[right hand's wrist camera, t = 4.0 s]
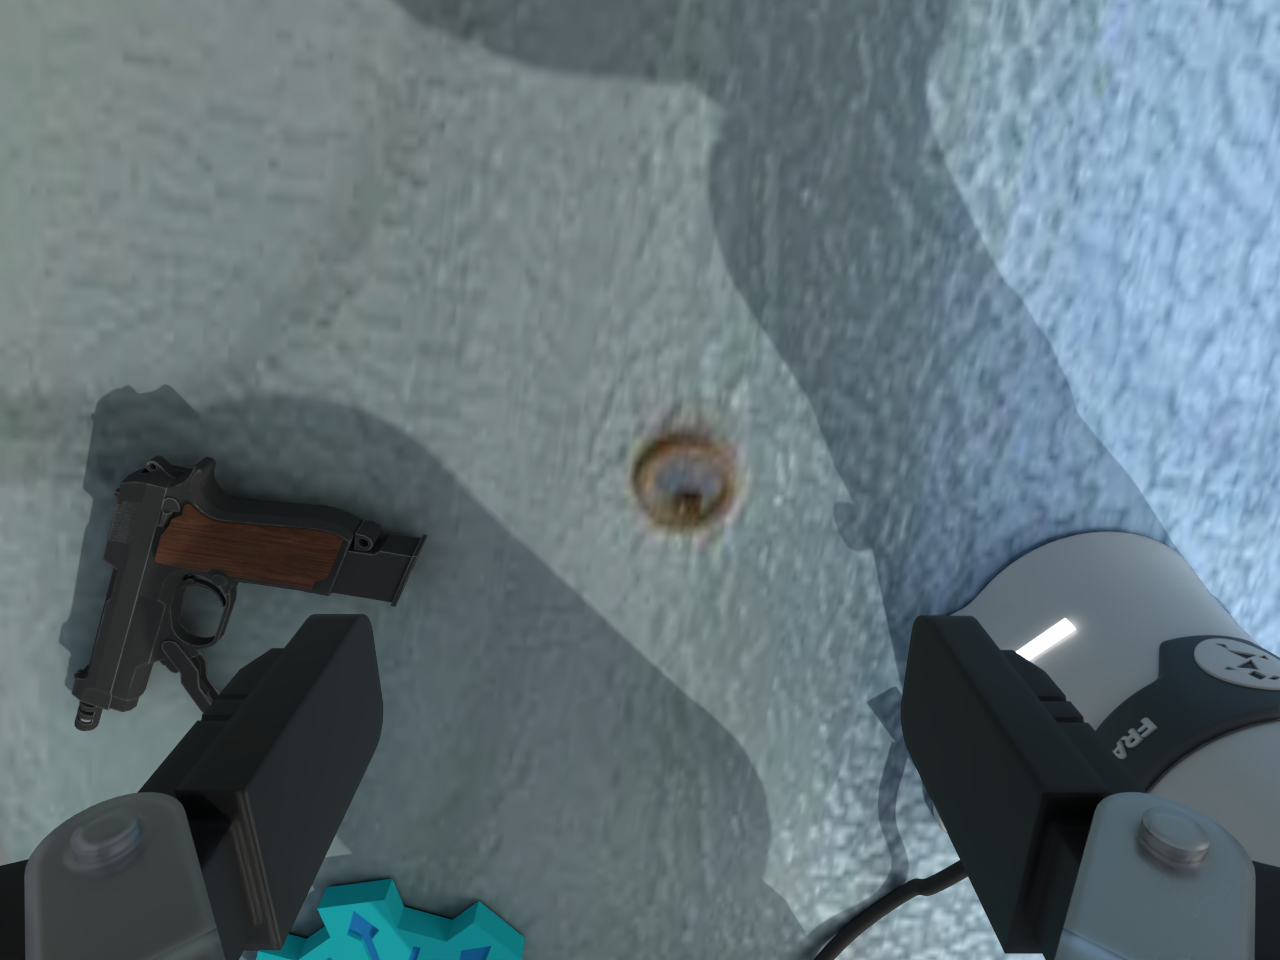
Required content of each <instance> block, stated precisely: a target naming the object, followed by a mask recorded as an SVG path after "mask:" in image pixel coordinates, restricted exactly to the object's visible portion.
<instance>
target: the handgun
mask: <svg viewBox="0 0 1280 960" xmlns="http://www.w3.org/2000/svg"><path fill="white" fill-rule="evenodd" d="M215 463H216V462H215V460H214V459H212V458H210V457H206V458H204V459H203V460H202V461H201V462H199V463H198V464H197V465H196V466H195V467H193V468H192V469H186V468H183V467H179V466H175V465H171V464H170V463H169V462H168V461H167V460H166V459H165V458H164V457H162V456H156V457H154V458H153V459H152V460H150V461H149V462H148V463H147V465H146V468H144V469H140V470H138V471H136V472H134V473H132V474H130V475H128V476H127V477H126V478H125V479H124V480H123V482H122V483H121V486H120V488H118V489H117V490H115V491H114V496H115V497H116V499H117V502H116V506H115V511H114V515H113V519H112V523H111V527H110V531H109V535H108V539H107V543H106V547H105V552H104V556H103V560H104V561H106V562H107V563H108V564H110V565H111V566H112V567H114V569H113V573H112V577H111V581H110V585H109V589H108V593H107V597H106V600H105V604H104V608H103V612H102V616H101V620H100V624H99V628H98V632H97V636H96V640H95V644H94V648H93V652H92V656H91V660H90V664H89V665H88V666H87V667H86V668H85V669H84V670H82V669H80V670H78V671H77V672H76V673H75V674H74V677H75V682H74V686H73V690H72V694H73V695H74V696H75V697H76V698H77V699H79V700H80V704H79V707H78V711H77V715H76V719H75V727H76V728H77V729H79V730H81V731H90V730H93V729H94V728H96V727H97V726H98V724H99V720H100V716H101V713H102V709H106V710H109V709H110V708H111V709H114V710H117V711H121V712H125V711H129V710H131V709H133V708H134V707H136V706H137V702H138V699H139V696H141V695H142V694H143V693H144V691H145V689H146V686H147V682H148V679H149V676H150V672H151V669H152V666H153V663H154V662H156V661H160V662H161V664H162V665H165V666H166V667H167V668H168V669H169V671H171V672H173V673H178V672H180V674H181V683H182V685H183V686H184V688H185V689H186V691H187V692H188V694H189V695H190V696H191V698H192V699H193V700H194V702H195V703H196V704H197V706H198V707H199V708H200V710H201V711H202V712H203V713H204V712H205V711H206V710H207V709H208V707H209V706H210V705H211V704H212V703H213V701H214V700H215V699H219V694H220V693H219V692H218V690H217V689H216V688H215V686H214V685H213V683H212V682H211V681H210V679H209V678H208V673H207V660H206V659H205V657H204V656H203V654H202V653H201V652H200V650H201V649H205V648H208V647H211V646H213V645H215V644H216V643H217V642H218V641H219V640H220V638H221V637H222V636H223V634H224V632H225V629H226V626H227V623H228V620H229V617H230V614H231V611H232V608H233V605H234V602H235V600H236V594H237V588H236V586H237V584H238V582H244V583H253V584H260V585H267V586H274V587H280V588H287V589H293V590H300V591H305V592H311V593H316V594H321V595H326V596H329V595H330V594H331V593H332V592H333V593H339V594H345V595H351V596H357V597H364V598H370V599H376V600H381V601H387V602H392V604H391V606H396V604H397V602H398V600H399V598H400V596H401V593H402V591H403V589H404V587H405V585H406V582H407V580H408V578H409V576H410V574H411V571H412V569H413V567H414V565H415V562H416V560H417V558H418V556H419V553H420V551H421V549H422V547H423V544H424V542H425V540H426V538H427V536H428V535H425V534H423V536H422V538H418V537H413V536H407V535H401V534H395V533H389V534H387V535H386V536H380V533H381V531H382V530H381V527H380V525H379V524H378V523H376V522H375V521H372V520H367V519H365V520H364V521H362V520H361V519H359V518H358V517H356V516H354V515H352V514H350V513H348V512H345V511H343V510H340V509H337V508H333V507H328V506H321V505H307V504H294V503H282V502H268V501H256V500H245V499H238V498H234V497H232V496H230V495H228V494H226V493H225V492H224V491H223V490H222V489H221V488H220V487H219V485H218V484H217V482H216V480H215V478H214V468H215ZM189 573H194V574H199V575H202V576H205V577H207V578H210V579H211V580H212V582H213V583H214V584H215V585H217V586H221V587H222V589H223V591H224V594H226V600H225V597H224V595H223V593H222V592H221V591H220V590H219V589H218V588H217V587H216V586H215V585H213V584H211V583H209V582H207V581H205V580H202V579H198V578H197V577H195V576H193V575H192V576H190V577H188V576H189ZM190 585H199V586H203V587H205V588H208V589H210V590H211V591H213V592H214V593H215V594H216V595H217V596H218V597H219V599H220V601H221V604H222V607H224V606H225V608H224V611H223V614H222V617H221V620H220V623H219V626H218V629H217V632H216V635H215V636H212V637H198V636H196V635H193V634H191V633H190V632H188V631H187V630H186V629H185V628H184V627H183V626H182V624H181V623H180V613H181V605H182V597H183V592H184V589H185V587H186V586H190ZM80 719H83V720H91V722H83V721H81V720H80Z"/></svg>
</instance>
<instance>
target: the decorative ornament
mask: <svg viewBox="0 0 1280 960" xmlns="http://www.w3.org/2000/svg"><path fill="white" fill-rule="evenodd" d="M317 909H318V911H319V913H320V916H321V918H322V920H323V922H324V924H325V926H324V927H323V928H321V929H320V930H318V931H317V932H316V933H314V934H313V935H311V936H310V937H309V938H307V939H306V938H302V937H298V936H294V935H290V934H288V936H287V938H286V940H285V943H284V945H283V947H282V949H281V950H259V951H258V954H257V958H256V960H522V955H523V949H524V942H525V938H524V937H523V936H522V935H521V934H519V933H518V932H517V931H516V930H514V929H513V928H512V927H511V926H510V925H508V924H507V923H506V922H505V921H503V920H502V919H501V918H500V917H498V916H497V915H496V914H495V913H493V912H492V911H491V910H490V909H488V908H487V907H486V906H485V905H484V904H482V903H481V902H480V901H478V902H477V903H475V904H474V905H472V906H471V907H470V908H468V909H467V910H465V911H464V912H463V913H461V914H460V915H458V916H457V917H456V918H454V919H453V920H451V919H447V918H444V917H440V916H436V915H433V914H429V913H425V912H422V911H418V910H414V909H411V908H407V907H404V905H403V902H402V900H401V898H400V895H399V893H398V891H397V888H396V886H395V883H394V881H393V879H386V880H378V881H371V882H363V883H356V884H348V885H341V886H333V887H327V888H326V891H325V893H324V895H323V897H322V899H321V902H320V904H319V906H318V908H317Z"/></svg>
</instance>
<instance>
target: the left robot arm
mask: <svg viewBox="0 0 1280 960" xmlns="http://www.w3.org/2000/svg"><path fill="white" fill-rule="evenodd" d="M949 616H973V617H974V618H976V619H977V620H978V622H979V623H980V624H981V626H982V627H983V628H984V629H985V631H986V632H987V633H988V634H989V636H990V637H991V638H992V640H993V641H994V642H995V643H996V645H997V646H998V647H999V649H1000V650H1014V651H1015V652H1017V653H1018V654H1020V655H1021V656H1023V657H1024V658H1026V659H1027V660H1029V661H1030V662H1032V663H1033V664H1035V665H1036V666H1038V667H1039V668H1041V669H1042V670H1044V671H1045V672H1046V673H1047V674H1048V675H1049V677H1050V678H1051V679H1052V680H1053V681H1054V682H1055V684H1056V685H1057V686H1058V687H1059V688H1060V690H1061V691H1062V692H1063V693H1064V694H1065V696H1066V701H1070V702H1071V703H1072V704H1073V705H1074V706H1075V707H1076V709H1077V710H1078V711H1079V712H1080V713H1081V715H1082V716H1083V717H1084V722H1085V723H1089V724H1090V725H1091V727H1092V728H1093V729H1094V730H1095V731H1096V732H1097V734H1098V735H1099V736H1100V737H1101V738H1102V740H1103V741H1104V742H1105V743H1106V744H1107V746H1108V747H1109V748H1110V749H1111V750H1112V752H1113V753H1114V754H1115V755H1116V756H1117V757H1118V759H1119V760H1120V761H1121V762H1122V763H1123V765H1124V766H1125V767H1126V768H1127V769H1128V771H1129V772H1130V773H1131V774H1132V775H1133V777H1134V778H1135V779H1136V780H1137V781H1138V782H1139V784H1140V785H1141V786H1142V787H1143V788H1144V790H1145V791H1146V792H1147V793H1148V794H1153V795H1157V796H1161V797H1165V798H1168V799H1171V800H1174V801H1177V802H1179V803H1181V804H1184V805H1186V806H1189V807H1191V808H1193V809H1195V810H1197V811H1198V812H1200V813H1202V814H1204V815H1206V816H1207V817H1209V818H1210V819H1212V820H1214V821H1215V822H1216V823H1218V824H1219V825H1220V826H1222V827H1223V828H1224V829H1226V830H1227V831H1228V832H1229V833H1230V834H1231V835H1232V836H1233V837H1235V838H1236V839H1237V840H1238V842H1239V843H1240V844H1241V845H1242V846H1243V847H1244V849H1245V850H1246V852H1247V853H1248V855H1249V856H1250V858H1251V860H1253V861H1256V862H1260V863H1264V864H1268V865H1272V866H1277V867H1280V658H1279V657H1277V656H1276V655H1274V654H1272V653H1271V652H1269V651H1267V650H1265V649H1263V648H1262V647H1261V646H1260V645H1259V644H1258V643H1257V642H1256V641H1255V640H1254V639H1253V638H1252V637H1251V636H1250V635H1249V634H1248V633H1247V632H1246V631H1245V630H1244V629H1242V627H1241V626H1240V625H1239V624H1238V623H1237V622H1236V621H1235V620H1234V619H1233V618H1232V617H1231V616H1230V615H1229V614H1228V613H1227V612H1226V610H1225V609H1224V608H1223V607H1222V606H1221V605H1220V604H1219V603H1218V602H1217V600H1216V599H1215V598H1214V597H1213V596H1212V594H1211V593H1210V592H1209V590H1208V589H1207V588H1206V587H1205V585H1204V584H1203V583H1202V581H1201V580H1200V578H1199V577H1198V575H1197V574H1196V573H1195V571H1194V570H1193V568H1192V567H1191V566H1190V565H1189V563H1188V562H1187V561H1186V560H1185V559H1184V558H1183V557H1182V556H1181V555H1179V554H1178V553H1177V552H1175V551H1174V550H1173V549H1171V548H1170V547H1168V546H1166V545H1164V544H1162V543H1160V542H1158V541H1156V540H1154V539H1151V538H1148V537H1145V536H1141V535H1137V534H1132V533H1126V532H1115V531H1102V532H1090V533H1083V534H1077V535H1073V536H1069V537H1065V538H1062V539H1058V540H1056V541H1053V542H1050V543H1048V544H1045V545H1043V546H1041V547H1039V548H1037V549H1035V550H1033V551H1031V552H1029V553H1027V554H1025V555H1024V556H1022V557H1020V558H1019V559H1017V560H1016V561H1014V562H1013V563H1011V564H1010V565H1009V566H1008V567H1006V568H1005V569H1004V570H1003V571H1001V572H1000V573H999V574H998V575H997V576H996V577H995V578H994V579H993V580H992V581H991V582H990V583H989V584H988V585H987V586H986V587H985V588H984V589H983V590H982V591H981V592H980V593H979V594H978V596H977V597H976V598H975V599H974V600H973V601H971V602H970V603H969V604H968V605H967V606H966V607H964V608H963V609H961V610H959V611H957V612H955V613H953V614H951V615H949ZM932 804H933V802H932ZM933 813H934V817H935V820H936V821H937V823H938V824H939V826H940V828H941V829H942V830H943V831H944V832H946V833H947V831H946V829H945V827H944V825H943V822H942V820H941V818H940V816H939V814H938V812H937V810H936V808H935V806H934V804H933ZM947 834H948V833H947ZM966 877H968V875H967V873H966V871H965V869H964V866H963V864H962V862H961V860H959V861H958V862H956V863H954V864H952V865H951V866H949V867H947V868H946V869H944V870H942V871H940V872H938V873H936V874H935V875H932V876H930V877H928V878H925V879H912V880H910V881H908V882H907V883H905V884H903V885H902V886H900V887H899V888H897V889H895V890H894V891H892V892H891V893H889V894H888V895H886V896H885V897H883V898H882V899H880V900H879V901H877V902H876V903H875V904H873V905H872V906H870V907H869V908H868V909H866V910H865V911H864V912H862V913H861V914H860V915H858V916H857V917H856V918H855V919H854V920H852V921H851V922H850V923H849V924H848V925H846V926H845V927H844V928H843V929H842V930H841V931H840V932H839V933H838V934H837V935H836V936H835V937H834V938H833V939H832V940H831V941H830V942H829V943H828V944H827V945H826V946H825V947H824V948H823V949H822V950H821V952H820V953H819V954H818V955H817V956H816V958H815V959H814V960H834V959H835V958H836V957H837V956H838V955H839V954H840V953H841V952H842V951H843V950H844V949H845V948H846V947H847V946H848V945H849V944H850V943H851V942H852V941H853V940H854V939H855V938H857V937H858V936H859V935H860V934H861V933H862V932H864V931H865V930H866V929H867V928H869V927H870V926H871V925H873V924H874V923H875V922H877V921H878V920H879V919H881V918H882V917H883V916H885V915H886V914H888V913H889V912H891V911H892V910H894V909H895V908H897V907H898V906H900V905H902V904H903V903H905V902H906V901H908V900H910V899H911V898H913V897H915V896H917V895H924V896H930V895H933V894H935V893H938V892H940V891H942V890H944V889H946V888H948V887H950V886H952V885H954V884H955V883H957V882H959V881H961V880H962V879H964V878H966Z"/></svg>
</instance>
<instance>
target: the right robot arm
mask: <svg viewBox="0 0 1280 960" xmlns="http://www.w3.org/2000/svg"><path fill="white" fill-rule="evenodd" d="M382 722H383V701H382V694H381V687H380V680H379V673H378V666H377V659H376V652H375V645H374V638H373V631H372V626H371V622H370V620H369V618H368V617H367V616H366V615H364V614H314V615H311V616H310V617H309V618H308V619H307V620H306V621H305V622H304V624H303V625H302V626H301V627H300V629H299V630H298V631H297V633H296V634H295V635H294V637H293V638H292V639H291V640H290V642H289V643H288V644H287V646H286V647H285V648H272V649H270V650H269V651H267V652H266V653H264V654H263V655H261V656H260V657H258V658H257V659H255V660H254V661H252V662H251V663H249V664H248V665H246V666H245V667H243V668H242V669H240V670H239V671H238V673H237V674H236V675H235V676H234V677H233V679H232V680H231V681H230V682H229V683H228V685H227V686H226V687H225V688H224V689H223V691H222V692H221V693H220V694H219V699H215V700H214V701H213V703H212V704H211V705H210V706H209V707H208V709H207V710H206V711H205V712H204V713H203V715H202V720H201V721H197V722H196V723H195V724H194V725H193V727H192V728H191V729H190V730H189V731H188V733H187V734H186V735H185V736H184V737H183V739H182V740H181V741H180V742H179V743H178V745H177V746H176V747H175V748H174V749H173V751H172V752H171V753H170V754H169V755H168V757H167V758H166V759H165V760H164V761H163V763H162V764H161V765H160V766H159V767H158V769H157V770H156V771H155V772H154V773H153V775H152V776H151V777H150V778H149V779H148V781H147V782H146V783H145V784H144V785H143V787H142V788H141V789H140V790H139V791H138V793H133V794H127V795H123V796H119V797H115V798H112V799H109V800H106V801H103V802H101V803H98V804H96V805H94V806H91V807H89V808H87V809H85V810H83V811H82V812H80V813H78V814H76V815H74V816H73V817H71V818H70V819H68V820H66V821H65V822H64V823H62V824H61V825H60V826H58V827H57V828H56V829H54V830H53V831H52V832H51V833H50V834H49V835H48V836H47V837H45V838H44V839H43V840H42V842H41V843H40V844H39V845H38V846H37V847H36V849H35V850H34V852H33V853H32V855H31V856H30V858H29V859H28V860H24V861H19V862H15V863H11V864H7V865H2V866H0V960H239V959H240V957H241V955H242V953H243V951H244V950H281V949H282V947H283V945H284V943H285V940H286V938H287V936H288V934H289V932H290V930H291V928H292V926H293V924H294V921H295V919H296V917H297V915H298V913H299V911H300V909H301V907H302V904H303V902H304V900H305V898H306V896H307V894H308V892H309V890H310V888H311V885H312V883H313V881H314V879H315V877H316V875H317V873H318V871H319V868H320V866H321V864H322V862H323V860H324V858H325V856H326V854H327V851H328V849H329V847H330V845H331V843H332V841H333V839H334V837H335V835H336V832H337V830H338V828H339V826H340V824H341V822H342V820H343V818H344V815H345V813H346V811H347V809H348V807H349V805H350V803H351V801H352V798H353V796H354V794H355V792H356V790H357V788H358V786H359V784H360V782H361V779H362V777H363V775H364V773H365V771H366V769H367V767H368V765H369V762H370V760H371V758H372V756H373V754H374V752H375V750H376V747H377V745H378V742H379V739H380V735H381V729H382ZM901 724H902V731H903V736H904V740H905V744H906V747H907V749H908V751H909V753H910V756H911V758H912V760H913V762H914V764H915V766H916V768H917V770H918V772H919V774H920V776H921V779H922V781H923V783H924V785H925V787H926V789H927V791H928V793H929V795H930V797H931V799H932V802H933V804H934V806H935V808H936V810H937V812H938V814H939V816H940V818H941V820H942V822H943V825H944V827H945V829H946V831H947V833H948V835H949V837H950V839H951V841H952V843H953V846H954V848H955V850H956V852H957V854H958V856H959V858H960V860H961V862H962V864H963V866H964V869H965V871H966V873H967V875H968V877H969V879H970V881H971V883H972V885H973V887H974V889H975V892H976V894H977V896H978V898H979V900H980V902H981V904H982V906H983V908H984V910H985V913H986V915H987V917H988V919H989V921H990V923H991V925H992V927H993V929H994V931H995V933H996V936H997V938H998V940H999V942H1000V944H1001V946H1002V948H1003V950H1004V952H1005V953H1043V955H1044V957H1045V959H1046V960H1280V867H1277V866H1272V865H1268V864H1264V863H1260V862H1256V861H1253V860H1251V858H1250V856H1249V855H1248V853H1247V852H1246V850H1245V849H1244V847H1243V846H1242V845H1241V844H1240V843H1239V842H1238V840H1237V839H1236V838H1235V837H1233V836H1232V835H1231V834H1230V833H1229V832H1228V831H1227V830H1226V829H1224V828H1223V827H1222V826H1220V825H1219V824H1218V823H1216V822H1215V821H1214V820H1212V819H1210V818H1209V817H1207V816H1206V815H1204V814H1202V813H1200V812H1198V811H1197V810H1195V809H1193V808H1191V807H1189V806H1186V805H1184V804H1181V803H1179V802H1177V801H1174V800H1171V799H1168V798H1165V797H1161V796H1157V795H1153V794H1148V793H1147V792H1146V791H1145V790H1144V788H1143V787H1142V786H1141V785H1140V784H1139V782H1138V781H1137V780H1136V779H1135V778H1134V777H1133V775H1132V774H1131V773H1130V772H1129V771H1128V769H1127V768H1126V767H1125V766H1124V765H1123V763H1122V762H1121V761H1120V760H1119V759H1118V757H1117V756H1116V755H1115V754H1114V753H1113V752H1112V750H1111V749H1110V748H1109V747H1108V746H1107V744H1106V743H1105V742H1104V741H1103V740H1102V738H1101V737H1100V736H1099V735H1098V734H1097V732H1096V731H1095V730H1094V729H1093V728H1092V727H1091V725H1090V724H1089V723H1085V722H1084V717H1083V716H1082V715H1081V713H1080V712H1079V711H1078V710H1077V709H1076V707H1075V706H1074V705H1073V704H1072V703H1071V702H1070V701H1066V696H1065V694H1064V693H1063V692H1062V691H1061V690H1060V688H1059V687H1058V686H1057V685H1056V684H1055V682H1054V681H1053V680H1052V679H1051V678H1050V677H1049V675H1048V674H1047V673H1046V672H1045V671H1044V670H1042V669H1041V668H1039V667H1038V666H1036V665H1035V664H1033V663H1032V662H1030V661H1029V660H1027V659H1026V658H1024V657H1023V656H1021V655H1020V654H1018V653H1017V652H1015V651H1014V650H1000V649H999V647H998V646H997V645H996V643H995V642H994V641H993V640H992V638H991V637H990V636H989V634H988V633H987V632H986V631H985V629H984V628H983V627H982V626H981V624H980V623H979V622H978V620H977V619H976V618H974V617H973V616H918V617H917V618H916V620H915V622H914V624H913V628H912V633H911V640H910V647H909V653H908V660H907V667H906V674H905V681H904V688H903V695H902V702H901Z"/></svg>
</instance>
